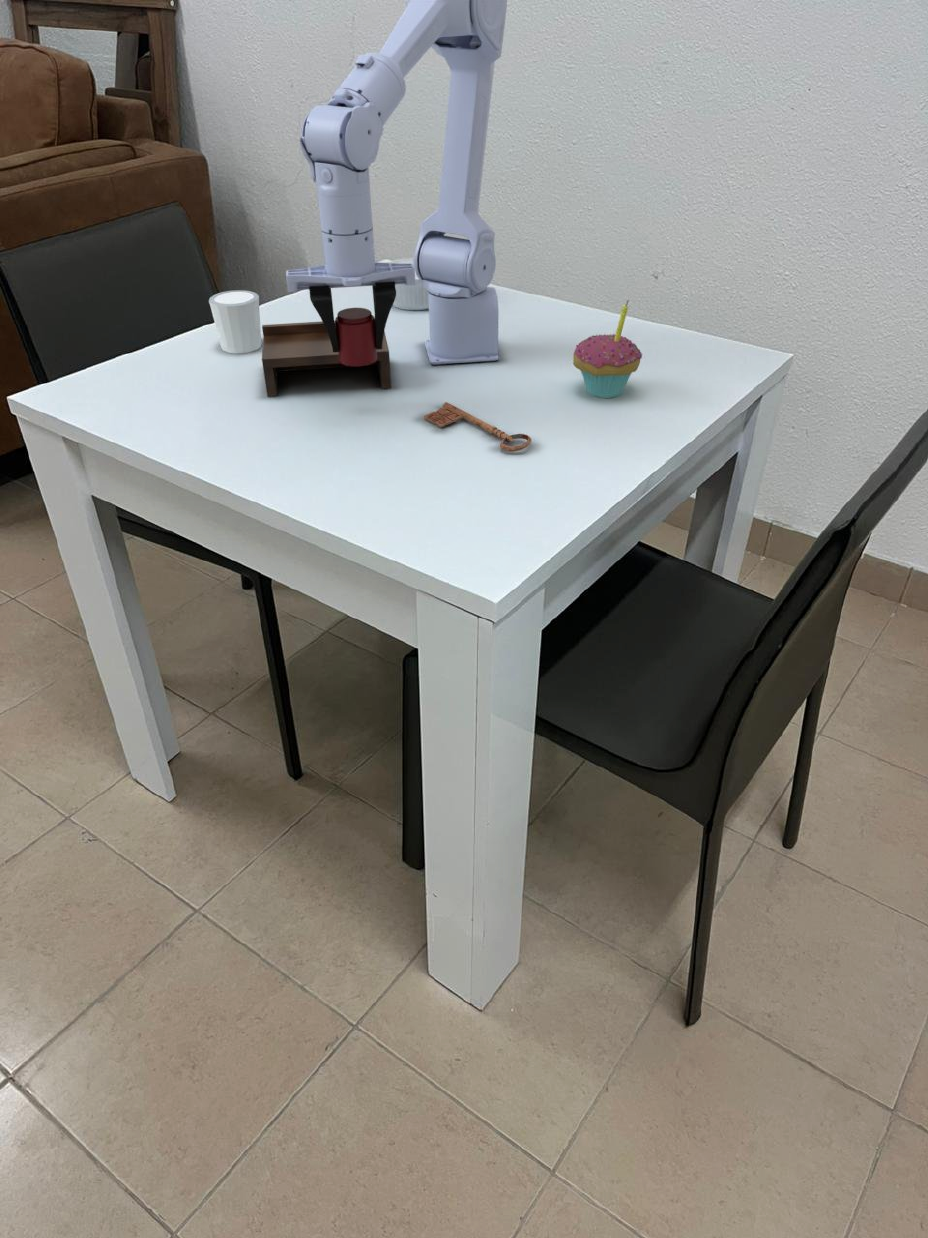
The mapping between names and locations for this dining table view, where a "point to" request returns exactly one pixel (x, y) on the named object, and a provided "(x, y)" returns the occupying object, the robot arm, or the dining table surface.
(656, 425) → the dining table surface
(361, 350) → the red lidded jar
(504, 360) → the dining table surface
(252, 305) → the white cup
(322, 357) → the shelf
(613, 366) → the cupcake
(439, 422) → the key
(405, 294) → the ramekin
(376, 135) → the robot arm
